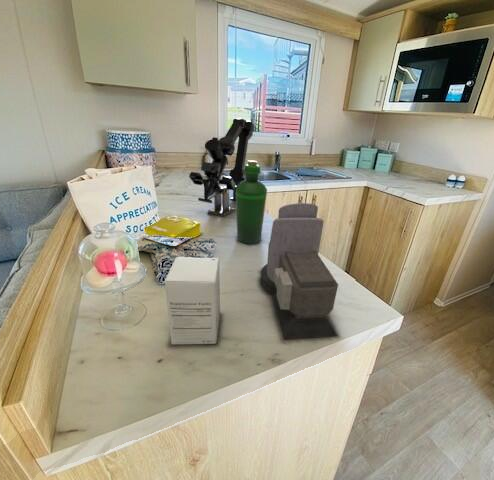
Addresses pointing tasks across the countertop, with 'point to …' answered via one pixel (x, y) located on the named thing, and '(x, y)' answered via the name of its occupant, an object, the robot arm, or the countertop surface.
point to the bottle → (250, 205)
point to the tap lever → (211, 196)
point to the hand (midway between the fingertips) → (205, 198)
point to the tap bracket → (223, 208)
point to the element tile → (174, 227)
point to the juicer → (299, 274)
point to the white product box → (193, 300)
